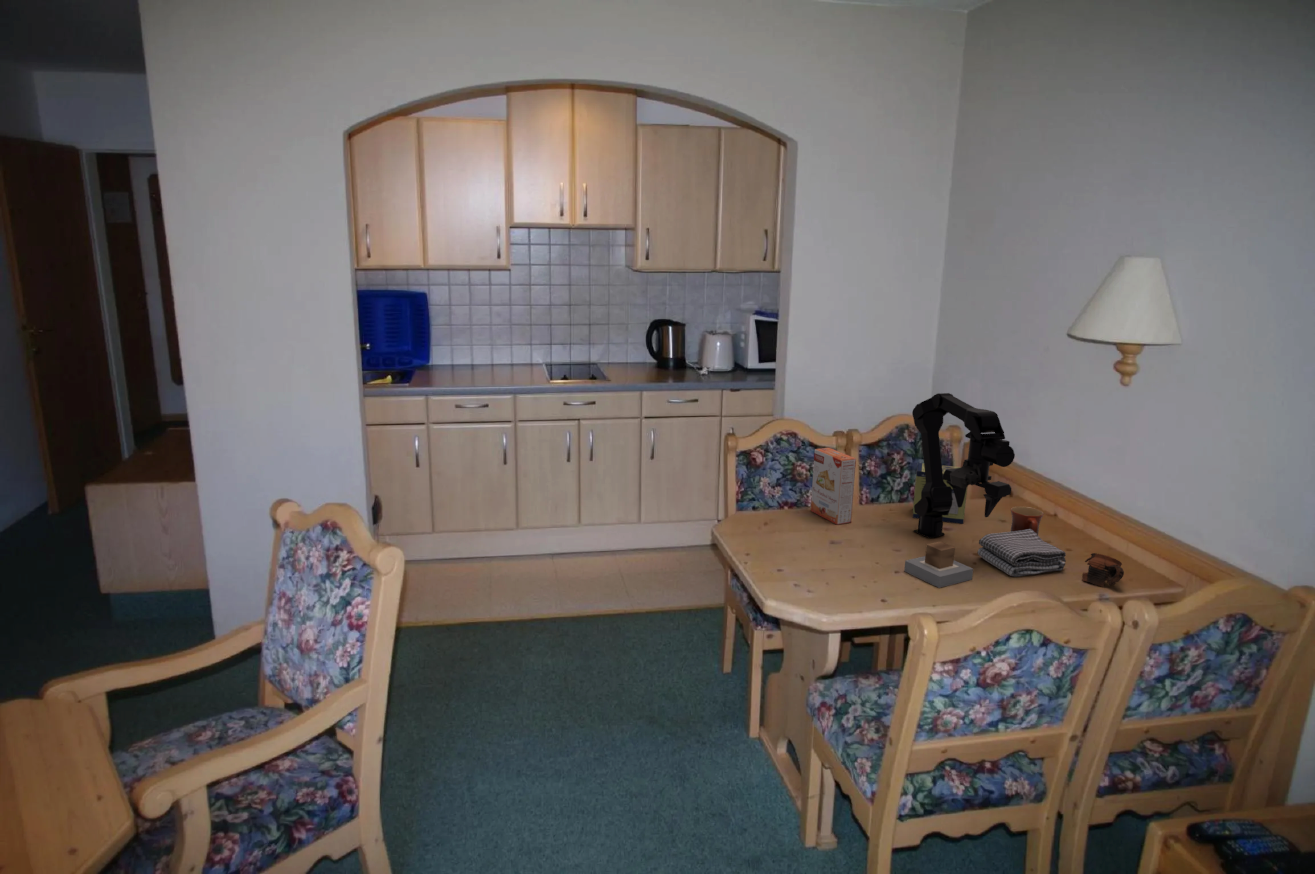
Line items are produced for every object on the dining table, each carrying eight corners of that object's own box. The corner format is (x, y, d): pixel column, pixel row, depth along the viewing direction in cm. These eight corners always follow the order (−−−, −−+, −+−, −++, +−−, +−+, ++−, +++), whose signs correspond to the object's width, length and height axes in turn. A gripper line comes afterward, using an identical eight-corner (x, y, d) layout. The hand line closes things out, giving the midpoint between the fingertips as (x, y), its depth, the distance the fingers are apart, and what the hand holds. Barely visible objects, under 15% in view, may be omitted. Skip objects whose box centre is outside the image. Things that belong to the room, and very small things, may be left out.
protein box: (912, 508, 277) (917, 462, 273) (963, 514, 272) (968, 467, 269) (911, 518, 267) (916, 470, 264) (964, 524, 263) (969, 476, 259)
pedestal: (904, 571, 225) (905, 559, 224) (936, 563, 231) (937, 552, 230) (938, 587, 215) (940, 576, 214) (971, 579, 220) (973, 568, 220)
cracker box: (809, 511, 271) (813, 448, 266) (824, 509, 274) (829, 446, 269) (835, 525, 259) (840, 459, 254) (851, 523, 261) (857, 457, 256)
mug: (1002, 538, 251) (1006, 505, 248) (1033, 540, 250) (1037, 507, 248) (1015, 553, 239) (1020, 518, 237) (1047, 555, 239) (1052, 520, 236)
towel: (974, 558, 236) (977, 532, 234) (1028, 552, 241) (1032, 526, 239) (1011, 580, 222) (1015, 551, 220) (1068, 573, 227) (1072, 545, 225)
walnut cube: (924, 562, 223) (926, 544, 222) (938, 559, 225) (940, 541, 224) (939, 568, 219) (941, 550, 217) (953, 565, 221) (955, 547, 220)
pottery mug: (1070, 578, 224) (1080, 549, 225) (1097, 591, 226) (1107, 562, 228) (1105, 584, 213) (1116, 554, 214) (1133, 598, 215) (1144, 568, 216)
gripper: (931, 452, 233) (926, 506, 237) (986, 469, 218) (979, 526, 221) (960, 448, 239) (954, 500, 243) (1015, 464, 223) (1008, 520, 227)
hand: (972, 511), depth 233 cm, fingers open, 9 cm apart
